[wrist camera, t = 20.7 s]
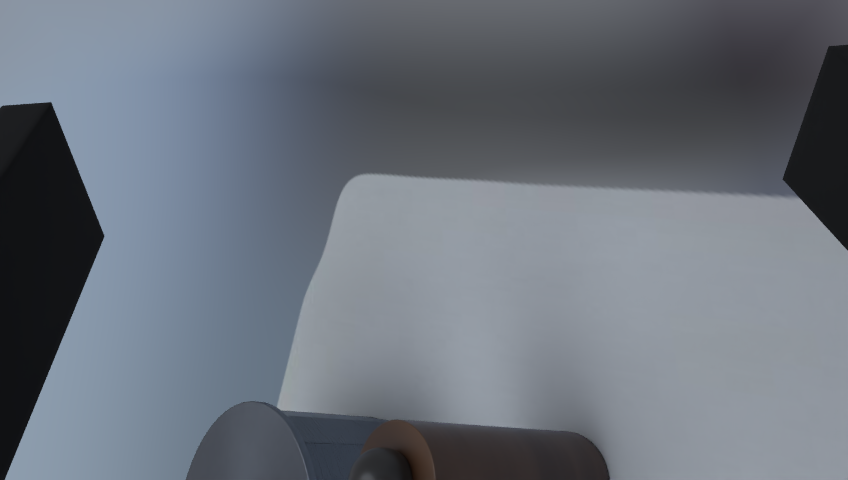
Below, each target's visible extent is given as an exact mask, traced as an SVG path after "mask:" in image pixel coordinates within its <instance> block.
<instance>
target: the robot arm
mask: <svg viewBox="0 0 848 480" xmlns="http://www.w3.org/2000/svg"><path fill="white" fill-rule="evenodd" d="M783 180H784V181H785V182H786V183H787V184H788V185H789V187H790V188H791V189H792V190H793V191H794V192H795V193H796V194H797V195H798V196H799V198H800V199H801V200H802V201H803V202H804V203H805V204H806V205H807V206H808V207H809V209H810V210H811V211H812V212H813V213H814V214H815V215H816V216H817V217H818V218H819V220H820V221H821V222H822V223H823V224H824V225H825V226H826V227H827V228H828V229H829V230H830V232H831V233H832V234H833V235H834V236H835V237H836V238H837V239H838V240H839V241H840V243H841V244H842V245H843V246H844V247H845V248H846V249H847V250H848V45H840V46H829V47H828V50H827V53H826V56H825V59H824V62H823V65H822V67H821V70H820V73H819V76H818V79H817V82H816V85H815V88H814V90H813V93H812V96H811V99H810V102H809V105H808V108H807V111H806V114H805V116H804V120H803V122H802V125H801V128H800V131H799V134H798V136H797V140H796V142H795V145H794V148H793V151H792V154H791V157H790V160H789V162H788V165H787V168H786V171H785V174H784V177H783ZM103 238H104V234H103V231H102V229H101V226H100V224H99V221H98V219H97V216H96V214H95V211H94V209H93V206H92V204H91V201H90V199H89V196H88V194H87V191H86V189H85V186H84V184H83V181H82V179H81V176H80V174H79V171H78V169H77V166H76V164H75V161H74V159H73V156H72V154H71V151H70V148H69V146H68V143H67V141H66V139H65V136H64V133H63V131H62V129H61V126H60V124H59V121H58V118H57V116H56V113H55V111H54V109H53V106H52V103H51V102H49V103H35V104H21V105H7V106H2V107H1V108H0V480H5V477H6V475H7V472H8V470H9V467H10V465H11V463H12V460H13V458H14V455H15V453H16V450H17V448H18V446H19V443H20V441H21V438H22V436H23V433H24V431H25V428H26V426H27V424H28V421H29V419H30V416H31V414H32V411H33V409H34V406H35V404H36V402H37V399H38V397H39V394H40V392H41V390H42V387H43V384H44V382H45V380H46V377H47V375H48V372H49V370H50V368H51V365H52V363H53V360H54V358H55V355H56V353H57V350H58V348H59V345H60V343H61V341H62V338H63V336H64V333H65V331H66V328H67V326H68V324H69V321H70V319H71V316H72V314H73V311H74V309H75V307H76V304H77V302H78V299H79V297H80V294H81V292H82V290H83V287H84V285H85V282H86V280H87V277H88V275H89V272H90V270H91V268H92V265H93V263H94V260H95V258H96V255H97V253H98V251H99V248H100V246H101V243H102V241H103Z"/></svg>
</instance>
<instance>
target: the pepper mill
mask: <svg viewBox="0 0 848 480" xmlns="http://www.w3.org/2000/svg"><path fill="white" fill-rule="evenodd" d="M348 480H609V476H608V471H607V467H606V464H605V462H604V459H603V457H602V455H601V454H600V452H599V451H598V449H597V448H596V447H595V446H594V444H593V443H592V442H590V441H589V440H588V439H587V438H585V437H584V436H582V435H579V434H577V433H573V432H565V431H551V430H537V429H523V428H509V427H495V426H481V425H467V424H453V423H438V422H424V421H410V420H390V421H387V422H385V423H383V424H381V425H380V426H378V427H377V428H376V429H375V430H374V431H373V432H372V433H371V434H370V436H369V437H368V439H367V440H366V442H365V444H364V446H363V448H362V451H361V454H360V456H359V457H358V458H357V460H356V461H355V462H354V464H353V466H352V468H351V470H350V473H349V478H348Z"/></svg>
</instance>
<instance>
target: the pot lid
mask: <svg viewBox="0 0 848 480" xmlns="http://www.w3.org/2000/svg"><path fill="white" fill-rule="evenodd" d="M186 480H316V476H315V472H314V468H313V465H312V461H311V458H310V455H309V452H308V450H307V447H306V444H305V442H304V440H303V438H302V436H301V435H300V433H299V431H298V429H297V428H296V426H295V425H294V424H293V422H292V421H291V420H290V419H289V418H288V416H287V415H286V414H285V413H284V412H282V411H281V410H279V409H278V408H276V407H275V406H273V405H270V404H268V403H263V402H255V401H250V402H243V403H240V404H238V405H235V406H234V407H231V408H230V409H228V410H227V411H225V412H224V413H223V414H222V415H221V416H220V417H219V418H218V419H217V420H216V421H215V422H214V424H213V425H212V426H211V427H210V429H209V430H208V432H207V433H206V435H205V436H204V438H203V440H202V442H201V443H200V445H199V447H198V449H197V451H196V454H195V456H194V458H193V460H192V463H191V466H190V469H189V472H188V474H187V478H186Z"/></svg>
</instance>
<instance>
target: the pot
mask: <svg viewBox="0 0 848 480" xmlns="http://www.w3.org/2000/svg"><path fill="white" fill-rule="evenodd" d="M282 412H284V413H285V414H286V415H287V416H288V418H289V419H290V420H291V421H292V422H293V424H294V425H295V426H296V428H297V429H298V431H299V433H300V435H301V436H302V438H303V440H304V442H305V444H306V447H307V450H308V452H309V455H310V458H311V461H312V465H313V468H314V472H315V476H316V480H348V478H349V473H350V470H351V468H352V466H353V464H354V462H355V461H356V460H357V458H358V457H359V456H360V454H361V451H362V448H363V446H364V444H365V442H366V440H367V439H368V437H369V436H370V434H371V433H372V432H373V431H374V430H375V429H376V428H377V427H378V426H380V425H381V424H383V423H385V422H387V421H390V420H383V419H377V418H373V417H364V416H350V415H336V414H323V413H309V412H295V411H282Z"/></svg>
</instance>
